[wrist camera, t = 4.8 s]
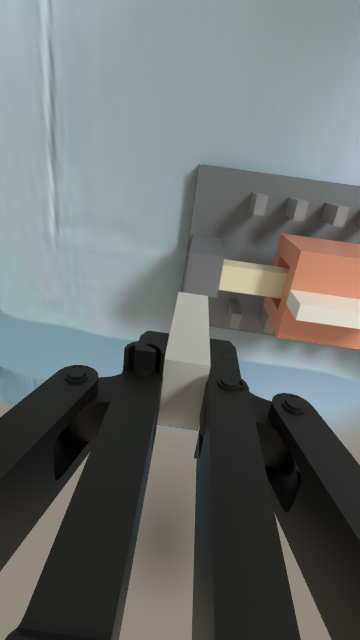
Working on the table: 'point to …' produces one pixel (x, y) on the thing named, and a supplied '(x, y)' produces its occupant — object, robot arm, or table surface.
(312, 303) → the banded orange cube
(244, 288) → the cream long bar
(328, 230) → the cable comb board
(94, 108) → the table surface
